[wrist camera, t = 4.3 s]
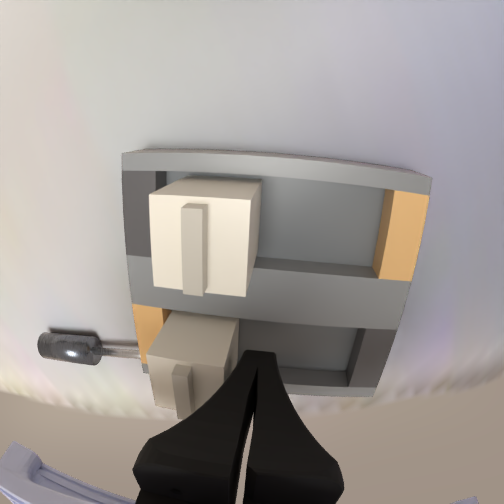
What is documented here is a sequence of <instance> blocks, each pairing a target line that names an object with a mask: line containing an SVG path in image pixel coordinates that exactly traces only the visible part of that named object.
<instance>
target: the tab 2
mask: <svg viewBox="0 0 504 504" xmlns="http://www.w3.org/2000/svg"><path fill="white" fill-rule="evenodd" d="M238 336H239V318H233V317H224V316H216V315H208V314H200V313H192V312H185V311H178V310H172V312H171V314H170V315H169V317H168V318H167V320H166V322H165V323H164V325H163V327H162V328H161V330H160V332H159V333H158V335H157V336H156V338H155V340H154V341H153V343H152V345H151V346H150V348H149V350H148V351H147V353H146V358H147V364H148V370H149V375H150V380H151V385H152V390H153V395H154V400H155V405H156V406H158V407H163V408H168V409H172V410H177V416H178V419H182V420H184V419H185V418H187V417H188V416H190V415H191V414H192V413H194V412H195V411H196V410H197V409H198V408H200V407H201V406H202V405H203V404H204V403H205V402H206V401H207V400H209V399H210V398H211V397H212V395H213V394H214V393H215V392H216V391H217V390H218V389H219V388H220V387H221V385H222V384H223V383H224V382H225V381H226V379H227V378H228V377H229V375H230V374H231V373H232V371H233V370H234V368H235V367H236V365H237V360H238Z"/></svg>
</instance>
